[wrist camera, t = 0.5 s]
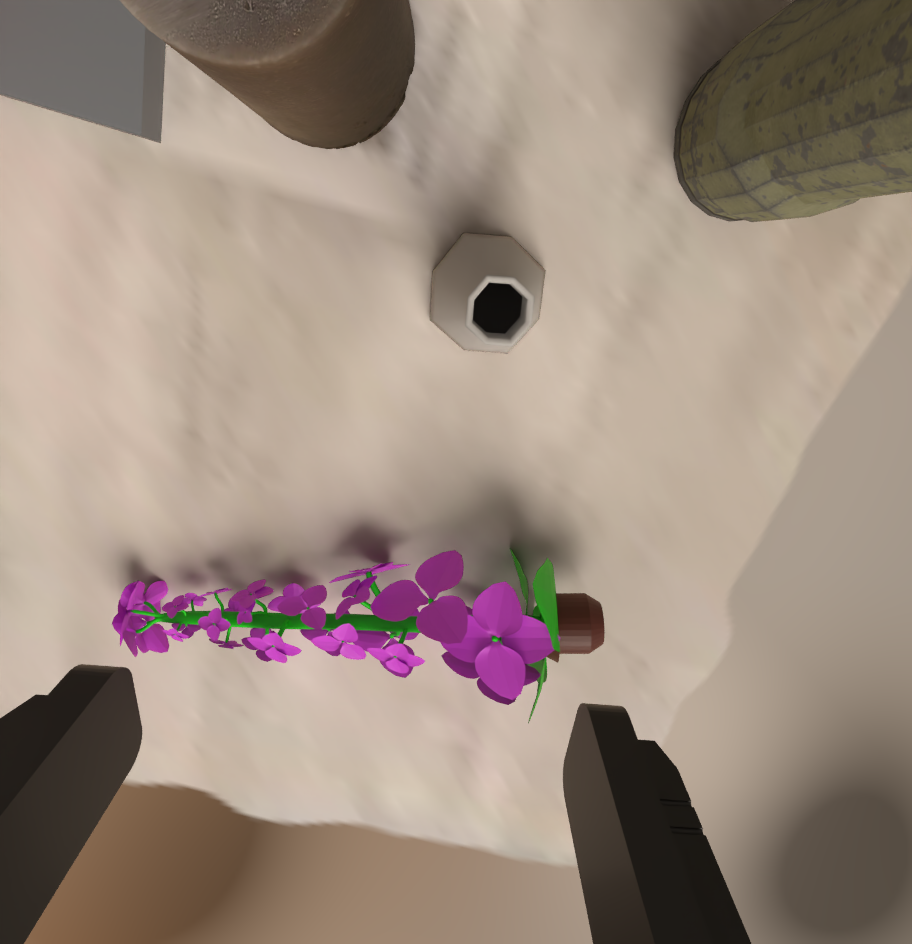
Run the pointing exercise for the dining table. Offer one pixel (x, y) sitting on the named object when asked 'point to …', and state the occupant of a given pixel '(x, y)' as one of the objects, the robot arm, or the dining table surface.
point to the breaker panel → (83, 62)
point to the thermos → (803, 114)
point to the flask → (486, 293)
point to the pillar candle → (297, 59)
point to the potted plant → (390, 623)
